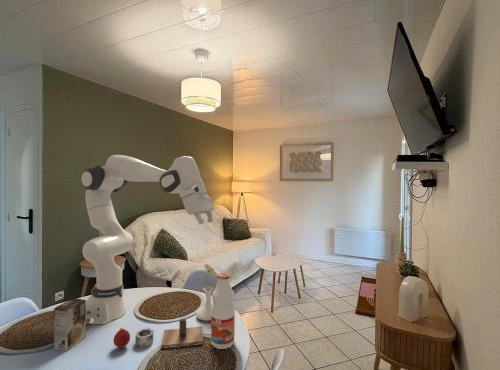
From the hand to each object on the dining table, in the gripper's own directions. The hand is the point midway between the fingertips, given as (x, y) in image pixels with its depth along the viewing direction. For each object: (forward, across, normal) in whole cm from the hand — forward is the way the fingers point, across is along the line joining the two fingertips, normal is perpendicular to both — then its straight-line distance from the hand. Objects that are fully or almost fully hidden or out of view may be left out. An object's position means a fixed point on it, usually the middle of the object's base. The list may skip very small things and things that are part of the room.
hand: (206, 223), depth 109 cm
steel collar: (+36, +5, -40) cm, 54 cm away
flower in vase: (+41, -22, -25) cm, 52 cm away
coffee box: (+25, +13, -67) cm, 72 cm away
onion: (+34, +10, -47) cm, 58 cm away
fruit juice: (+48, -3, -12) cm, 49 cm away
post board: (+41, -2, -28) cm, 49 cm away
